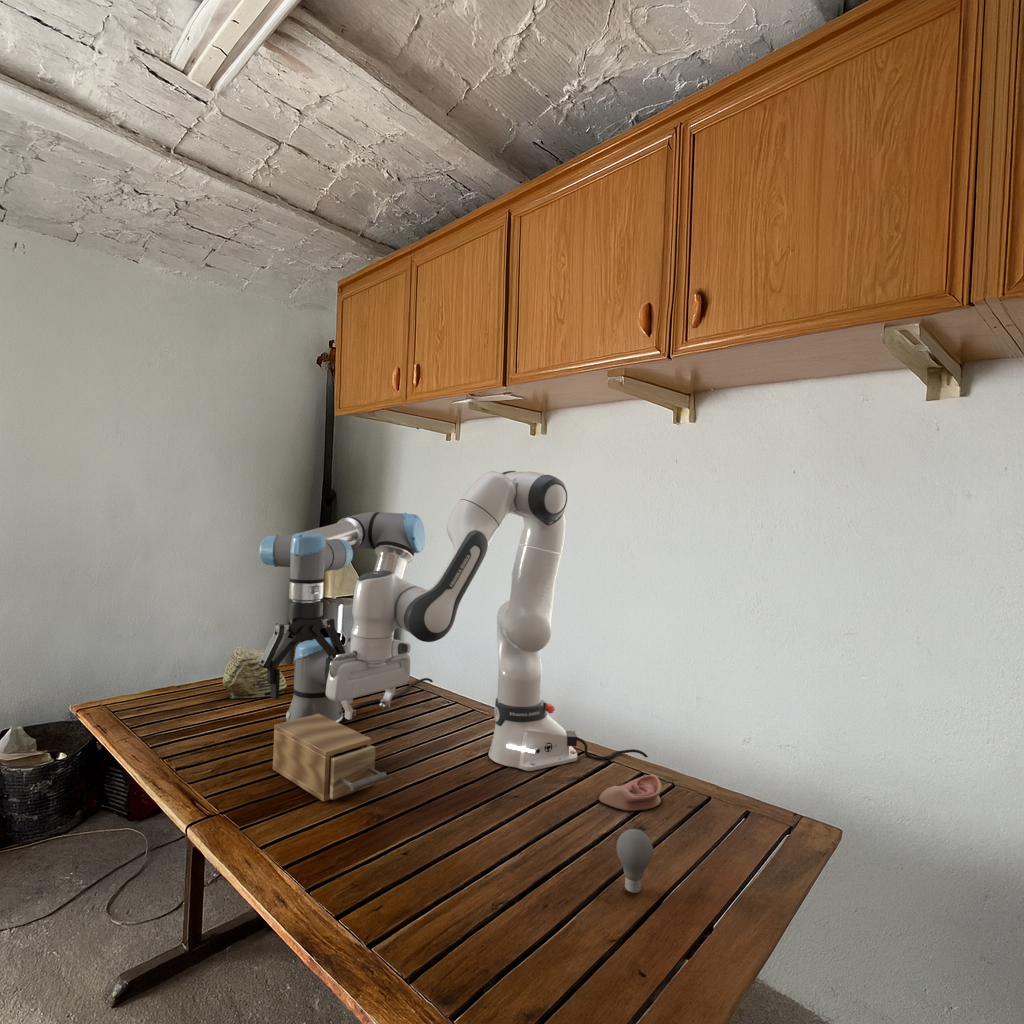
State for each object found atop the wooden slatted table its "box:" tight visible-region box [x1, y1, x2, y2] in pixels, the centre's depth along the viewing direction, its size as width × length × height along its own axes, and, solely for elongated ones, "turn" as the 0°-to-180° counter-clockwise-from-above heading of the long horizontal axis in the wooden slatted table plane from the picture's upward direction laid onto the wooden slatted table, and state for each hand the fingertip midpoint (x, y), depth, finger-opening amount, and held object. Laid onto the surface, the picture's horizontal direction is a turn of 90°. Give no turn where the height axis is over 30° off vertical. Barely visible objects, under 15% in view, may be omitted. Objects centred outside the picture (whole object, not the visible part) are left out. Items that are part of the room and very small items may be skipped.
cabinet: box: [272, 714, 372, 803], centre depth 143 cm, size 21×12×10 cm, turn 48°
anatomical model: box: [598, 774, 663, 812], centre depth 139 cm, size 13×4×12 cm
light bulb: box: [615, 828, 654, 894], centre depth 106 cm, size 6×6×10 cm
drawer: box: [328, 745, 388, 800], centre depth 139 cm, size 26×10×8 cm, turn 48°
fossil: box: [222, 646, 288, 699], centre depth 198 cm, size 9×18×15 cm, turn 132°
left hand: (302, 691), depth 146 cm, fingers open, 13 cm apart
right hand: (367, 713), depth 134 cm, fingers open, 8 cm apart
